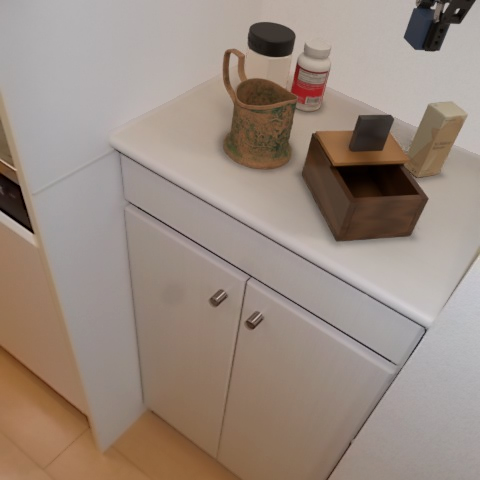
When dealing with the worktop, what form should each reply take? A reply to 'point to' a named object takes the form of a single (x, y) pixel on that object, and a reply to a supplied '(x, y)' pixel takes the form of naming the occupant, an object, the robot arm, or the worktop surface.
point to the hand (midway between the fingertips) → (421, 42)
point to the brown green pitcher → (258, 119)
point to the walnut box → (363, 196)
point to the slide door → (364, 143)
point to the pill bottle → (311, 74)
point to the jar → (269, 52)
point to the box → (435, 138)
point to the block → (420, 27)
